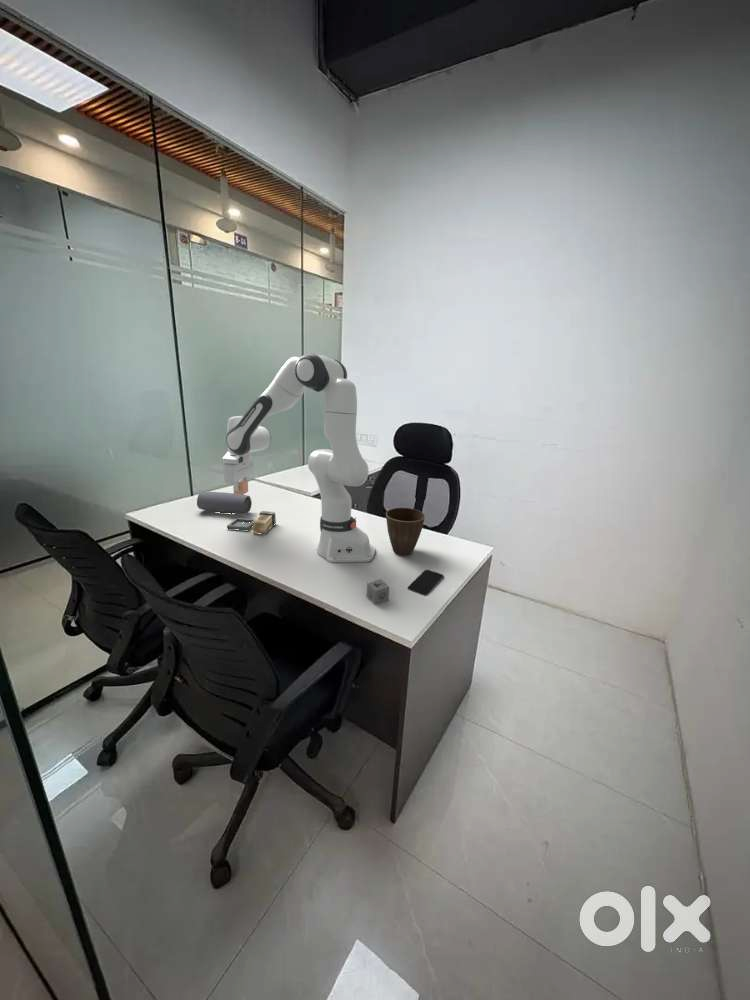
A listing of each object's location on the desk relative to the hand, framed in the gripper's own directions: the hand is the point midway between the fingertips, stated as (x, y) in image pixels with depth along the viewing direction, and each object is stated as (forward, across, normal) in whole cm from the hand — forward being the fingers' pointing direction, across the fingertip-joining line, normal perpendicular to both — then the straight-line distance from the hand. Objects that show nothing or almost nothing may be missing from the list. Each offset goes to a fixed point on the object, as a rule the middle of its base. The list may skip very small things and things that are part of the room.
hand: (240, 488), depth 154 cm
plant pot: (+17, +8, +70) cm, 73 cm away
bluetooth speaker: (+18, -14, -15) cm, 27 cm away
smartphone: (+18, +30, +79) cm, 86 cm away
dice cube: (+18, +42, +64) cm, 79 cm away
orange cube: (+2, 0, 0) cm, 2 cm away
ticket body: (+17, 0, +10) cm, 20 cm away
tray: (+18, 0, 0) cm, 18 cm away
